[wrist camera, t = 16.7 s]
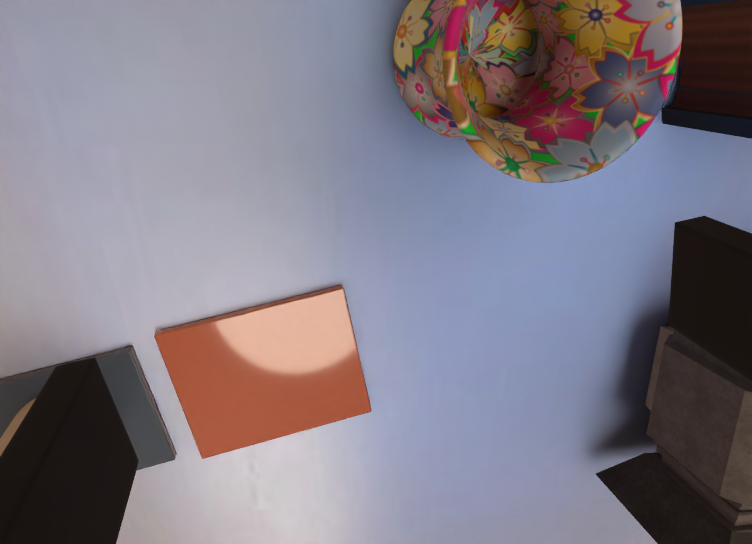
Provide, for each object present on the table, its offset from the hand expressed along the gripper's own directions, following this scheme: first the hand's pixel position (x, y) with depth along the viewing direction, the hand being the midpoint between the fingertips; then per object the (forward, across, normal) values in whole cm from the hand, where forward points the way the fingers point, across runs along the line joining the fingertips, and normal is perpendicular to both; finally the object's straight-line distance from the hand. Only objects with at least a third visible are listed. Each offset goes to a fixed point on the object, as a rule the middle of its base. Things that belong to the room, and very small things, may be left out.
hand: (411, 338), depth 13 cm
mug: (+20, +9, +6) cm, 23 cm away
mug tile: (+20, -5, -12) cm, 23 cm away
